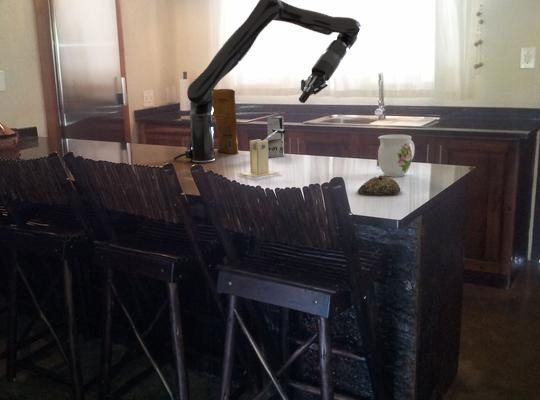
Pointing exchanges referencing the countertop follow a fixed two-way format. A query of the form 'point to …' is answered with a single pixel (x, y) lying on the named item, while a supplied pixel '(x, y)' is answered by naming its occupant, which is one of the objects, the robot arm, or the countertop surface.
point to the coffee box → (275, 137)
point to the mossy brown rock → (380, 186)
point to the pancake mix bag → (225, 120)
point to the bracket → (259, 159)
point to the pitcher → (395, 154)
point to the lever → (271, 135)
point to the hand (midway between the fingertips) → (301, 101)
